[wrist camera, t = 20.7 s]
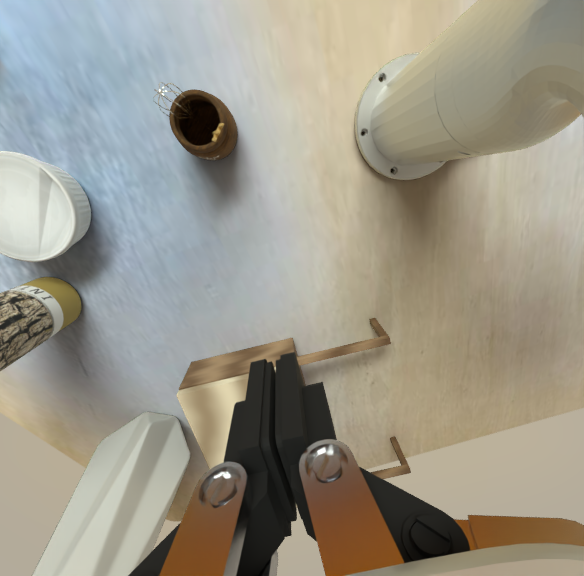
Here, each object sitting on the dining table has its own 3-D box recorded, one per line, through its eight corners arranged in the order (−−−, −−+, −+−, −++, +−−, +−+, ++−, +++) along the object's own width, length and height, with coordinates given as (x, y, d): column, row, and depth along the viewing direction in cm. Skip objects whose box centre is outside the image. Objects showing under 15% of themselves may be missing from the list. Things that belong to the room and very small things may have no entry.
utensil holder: (199, 91, 33) (158, 42, 22) (250, 125, 34) (237, 96, 23) (176, 142, 34) (127, 121, 23) (226, 172, 36) (203, 167, 24)
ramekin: (117, 238, 38) (93, 246, 33) (34, 263, 38) (-2, 274, 33) (72, 142, 34) (37, 135, 29) (-19, 171, 35) (-69, 169, 30)
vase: (100, 429, 47) (-251, 916, 16) (152, 387, 45) (-132, 849, 14) (160, 472, 50) (-31, 944, 19) (210, 435, 48) (90, 894, 17)
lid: (296, 362, 37) (297, 376, 34) (332, 492, 45) (336, 513, 42) (179, 390, 38) (171, 406, 35) (234, 514, 45) (231, 536, 42)
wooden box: (374, 317, 43) (390, 338, 37) (395, 440, 50) (410, 472, 45) (191, 362, 44) (178, 388, 38) (238, 476, 51) (233, 512, 46)
